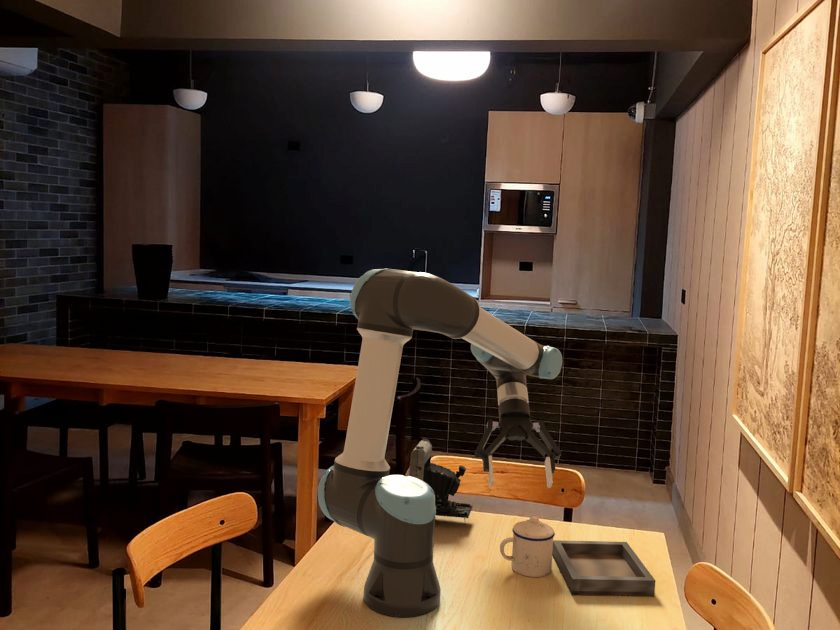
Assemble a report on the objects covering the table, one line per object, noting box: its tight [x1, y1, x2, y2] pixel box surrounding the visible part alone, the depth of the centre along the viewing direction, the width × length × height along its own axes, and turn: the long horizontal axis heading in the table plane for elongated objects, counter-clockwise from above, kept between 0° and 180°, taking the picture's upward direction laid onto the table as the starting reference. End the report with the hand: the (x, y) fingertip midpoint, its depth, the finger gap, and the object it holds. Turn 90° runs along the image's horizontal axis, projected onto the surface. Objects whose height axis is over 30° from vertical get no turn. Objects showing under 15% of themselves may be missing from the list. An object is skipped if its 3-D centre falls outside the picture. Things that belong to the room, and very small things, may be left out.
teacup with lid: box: [499, 515, 556, 578], centre depth 164 cm, size 12×9×12 cm
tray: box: [552, 539, 656, 598], centre depth 163 cm, size 17×19×4 cm
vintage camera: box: [408, 438, 474, 521], centre depth 188 cm, size 10×15×20 cm, turn 78°
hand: (520, 484), depth 174 cm, fingers open, 13 cm apart
